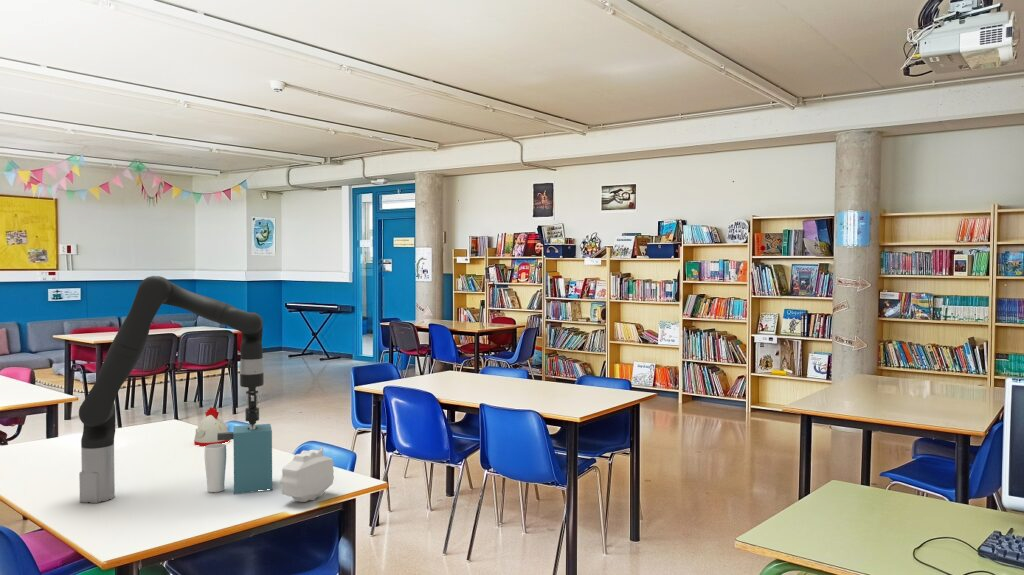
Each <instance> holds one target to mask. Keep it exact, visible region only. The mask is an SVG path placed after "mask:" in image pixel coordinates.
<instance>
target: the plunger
mask: <svg viewBox="0 0 1024 575" xmlns="http://www.w3.org/2000/svg"><path fill="white" fill-rule="evenodd" d="M250 408H255V407H250ZM256 409H257V412H256V422H259V421H260V407H257V406H256ZM248 410H249V408H248V407H245V416H244V417H245V418H244V419H245V422H249V412H248ZM249 425H250V429H255V425H256V424H249Z"/></svg>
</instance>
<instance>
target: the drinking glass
mask: <svg viewBox="0 0 1024 575" xmlns="http://www.w3.org/2000/svg"><path fill="white" fill-rule="evenodd" d="M204 466H205V476H206V486H207V487H206V490H207V492H208V493H212V492H215V493H221V492H223V491H224V490H225V481H226V467H227V444H211V445H207V446H205V447H204Z"/></svg>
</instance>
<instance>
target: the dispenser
mask: <svg viewBox="0 0 1024 575" xmlns="http://www.w3.org/2000/svg"><path fill="white" fill-rule="evenodd" d="M218 440H230V441H231V440H233V494H234V493H239V494H243V493H242V492H250V493H252V492H251V491H258V490H267V489H272V490H273V429H272V426H271V423H261V424H255V429H250V424H245V425H233V430H232V431H228V432H225V433H218V434H217V441H218Z"/></svg>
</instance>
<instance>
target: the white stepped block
mask: <svg viewBox="0 0 1024 575" xmlns="http://www.w3.org/2000/svg"><path fill="white" fill-rule="evenodd" d="M323 449H324V448H323V445H321V448H320V449H319V450H317V449H310V450H302V451H301V452H300V453H296V454H295V455H294V457H293V459H292V460H291V461H290V462H289V463H287V464H286V465H285V466H283V467H282V469H281V472H282V476H281V477H280V480H279V481H280V484H281V486H282V488H281V494H282V495H284V496H288V497H291V498H292V499H293V500H294V501H296V502H300V503H306V502H308V501H311V500H313V501H315V500H316V499H317V498H318V497H321V496H322V495H323V494H324V492H326V490H328V489H329V488H330V487H331V486H332V485H333V483H334V481H335V480H334V479H335V476H334V466H335V465H334V460H333V458H331V457H328V456H325V455H324V453H323V452H324V450H323Z"/></svg>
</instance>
